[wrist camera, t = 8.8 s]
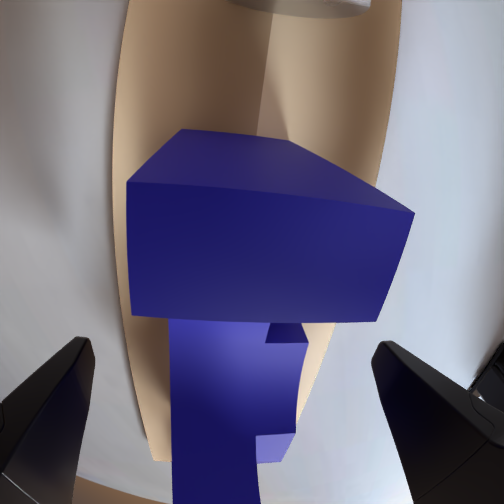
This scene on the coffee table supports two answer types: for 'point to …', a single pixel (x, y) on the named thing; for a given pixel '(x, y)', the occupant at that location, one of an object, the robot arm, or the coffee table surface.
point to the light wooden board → (242, 125)
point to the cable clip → (249, 289)
